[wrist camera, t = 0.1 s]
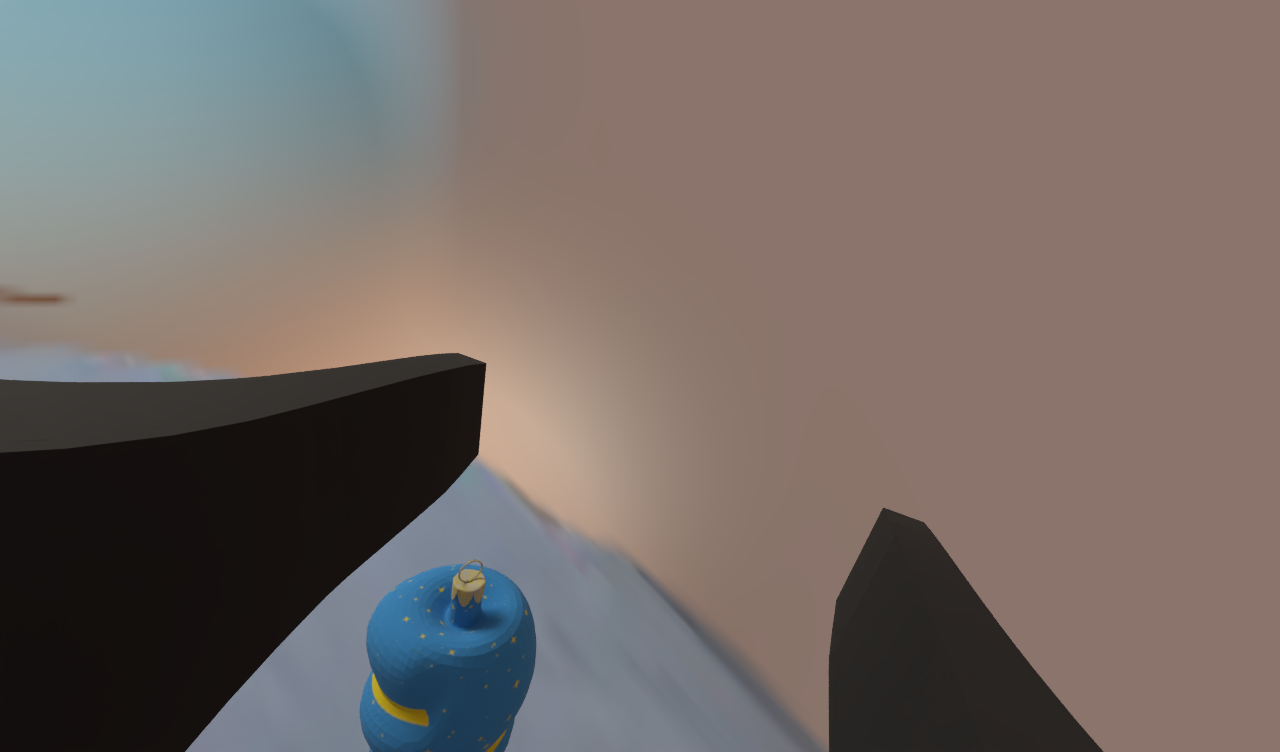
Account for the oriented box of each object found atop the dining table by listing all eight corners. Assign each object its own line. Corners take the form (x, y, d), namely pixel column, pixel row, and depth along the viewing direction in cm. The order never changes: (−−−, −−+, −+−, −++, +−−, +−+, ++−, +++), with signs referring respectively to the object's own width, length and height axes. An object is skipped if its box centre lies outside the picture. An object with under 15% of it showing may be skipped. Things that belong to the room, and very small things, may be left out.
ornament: (331, 843, 21) (338, 533, 16) (459, 766, 25) (501, 491, 19) (377, 996, 18) (406, 672, 12) (516, 882, 21) (588, 589, 16)
